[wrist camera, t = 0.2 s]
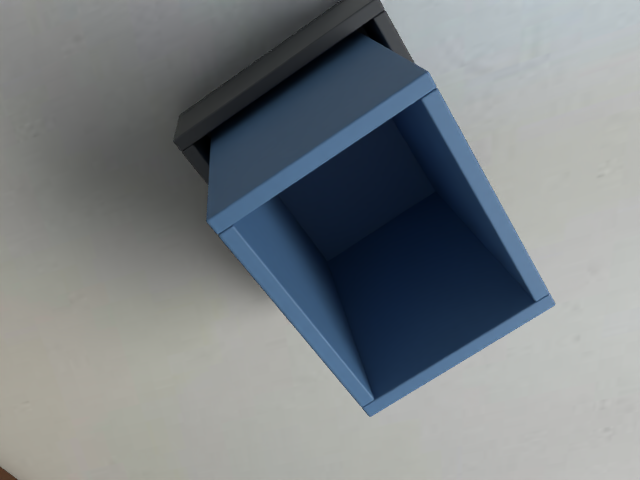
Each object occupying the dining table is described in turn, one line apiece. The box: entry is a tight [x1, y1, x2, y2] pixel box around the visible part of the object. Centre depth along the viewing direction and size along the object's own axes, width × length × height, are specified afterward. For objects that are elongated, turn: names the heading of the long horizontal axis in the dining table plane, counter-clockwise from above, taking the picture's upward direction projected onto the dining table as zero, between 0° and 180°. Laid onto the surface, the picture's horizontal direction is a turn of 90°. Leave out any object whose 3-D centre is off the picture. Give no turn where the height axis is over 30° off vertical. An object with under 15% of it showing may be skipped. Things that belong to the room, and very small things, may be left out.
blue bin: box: [206, 30, 555, 417], centre depth 26 cm, size 10×8×12 cm
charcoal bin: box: [173, 0, 415, 184], centre depth 29 cm, size 12×10×4 cm
